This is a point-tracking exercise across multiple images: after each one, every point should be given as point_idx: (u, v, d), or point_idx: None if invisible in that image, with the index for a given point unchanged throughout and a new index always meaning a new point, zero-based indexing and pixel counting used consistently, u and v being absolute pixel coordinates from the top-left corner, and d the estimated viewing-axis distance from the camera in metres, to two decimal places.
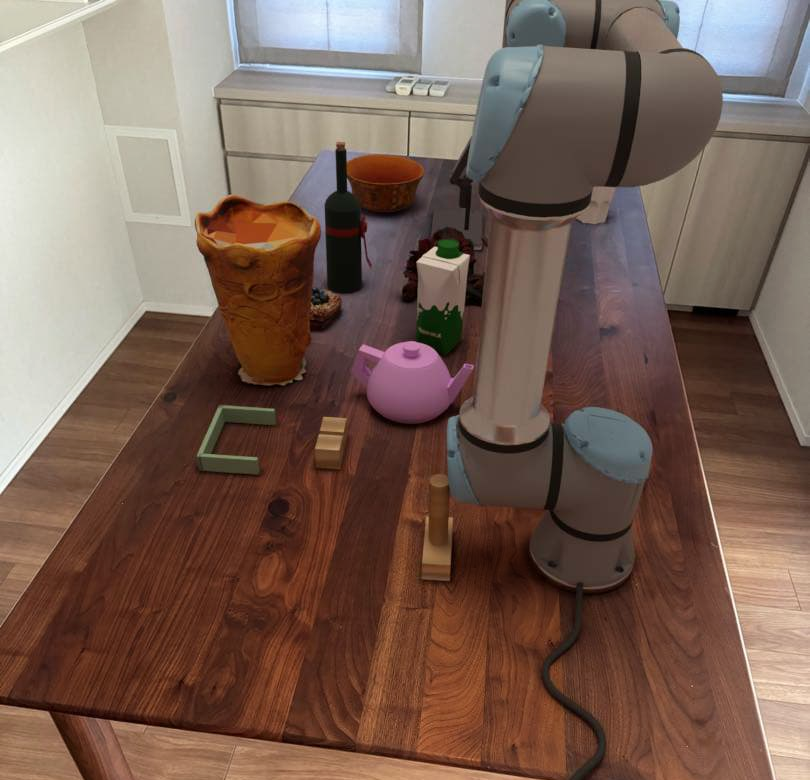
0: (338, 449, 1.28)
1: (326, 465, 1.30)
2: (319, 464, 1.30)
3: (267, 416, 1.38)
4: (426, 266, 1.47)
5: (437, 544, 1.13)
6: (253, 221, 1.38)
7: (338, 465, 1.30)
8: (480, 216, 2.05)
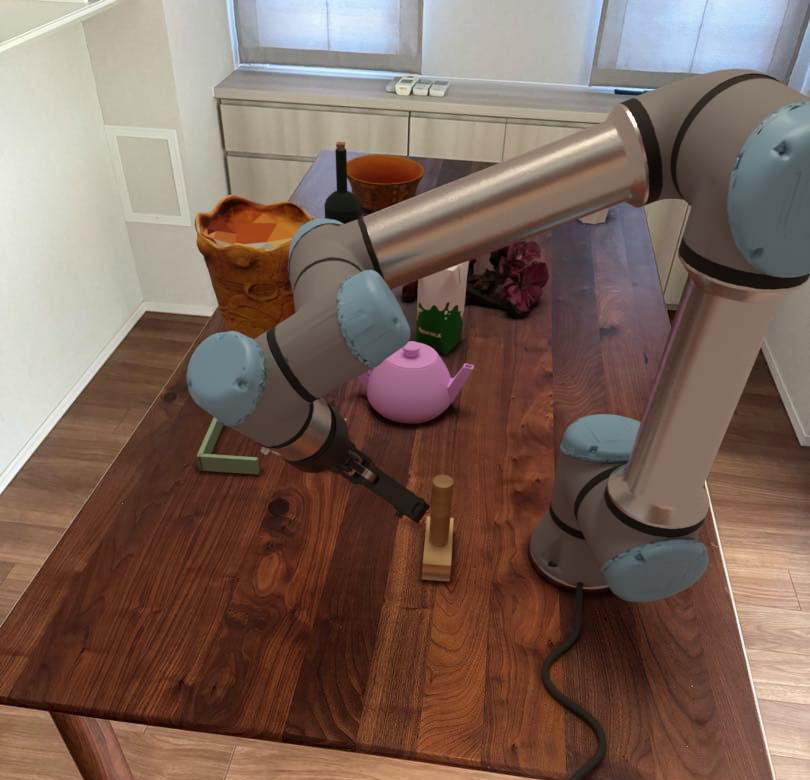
0: None
1: None
2: None
3: None
4: None
5: (438, 544, 1.13)
6: (253, 221, 1.38)
7: None
8: None
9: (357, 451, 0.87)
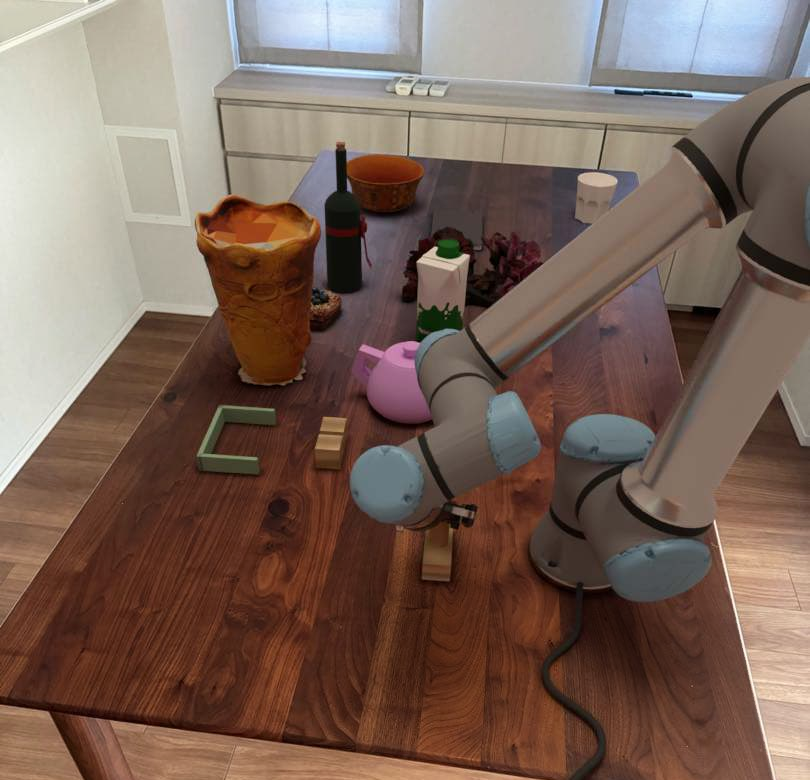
0: (338, 449, 1.28)
1: (326, 465, 1.30)
2: (319, 464, 1.30)
3: (267, 416, 1.38)
4: (426, 266, 1.47)
5: (438, 544, 1.13)
6: (253, 221, 1.38)
7: (338, 465, 1.30)
8: (480, 216, 2.05)
9: None
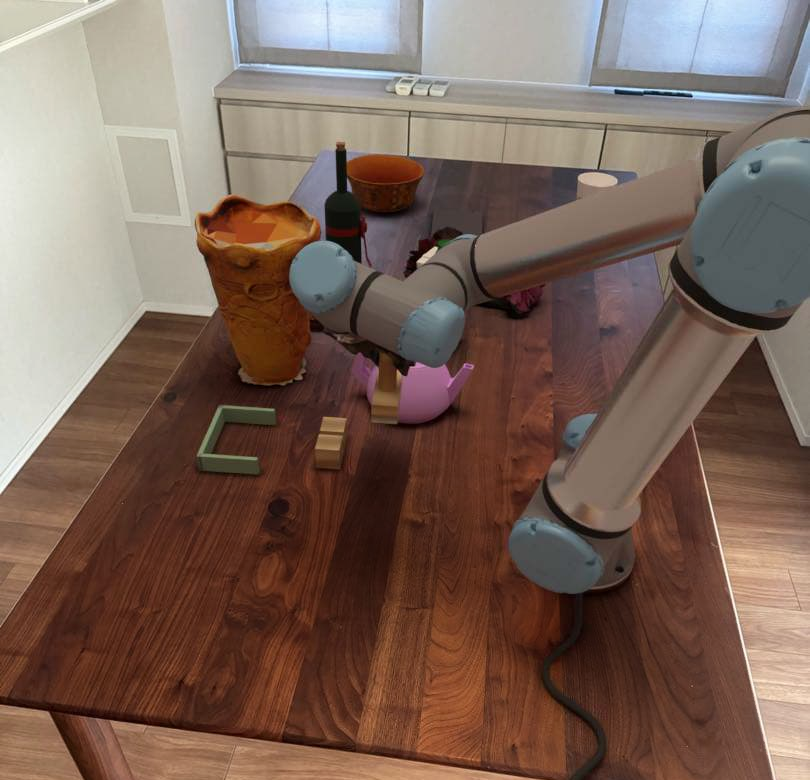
0: (338, 449, 1.28)
1: (326, 465, 1.30)
2: (319, 464, 1.30)
3: (267, 416, 1.38)
4: None
5: (386, 390, 1.21)
6: (253, 221, 1.38)
7: (338, 465, 1.30)
8: (480, 216, 2.05)
9: None
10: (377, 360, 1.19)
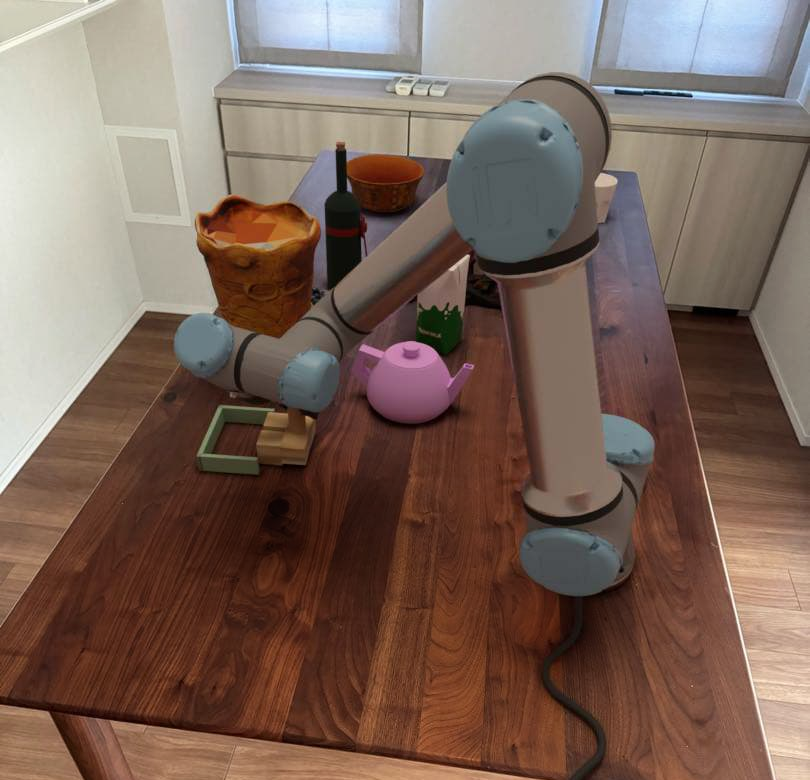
0: (279, 445, 1.28)
1: (269, 461, 1.31)
2: (261, 460, 1.31)
3: None
4: None
5: (296, 433, 1.30)
6: (253, 221, 1.38)
7: (280, 461, 1.30)
8: None
9: None
10: (285, 406, 1.28)
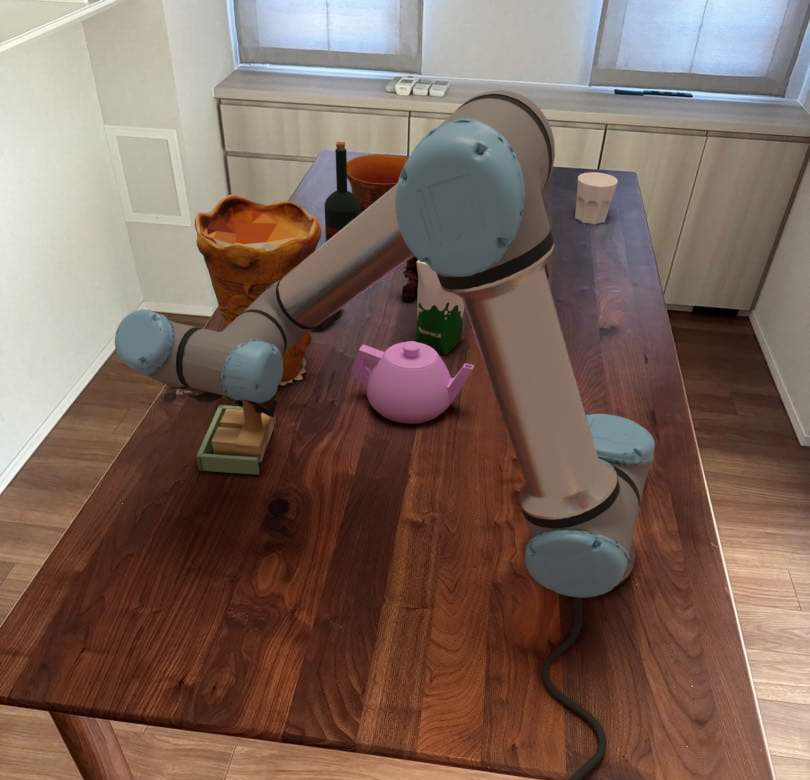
0: (234, 442, 1.29)
1: None
2: None
3: None
4: (426, 266, 1.47)
5: (251, 430, 1.30)
6: (253, 221, 1.38)
7: None
8: None
9: None
10: (240, 404, 1.28)
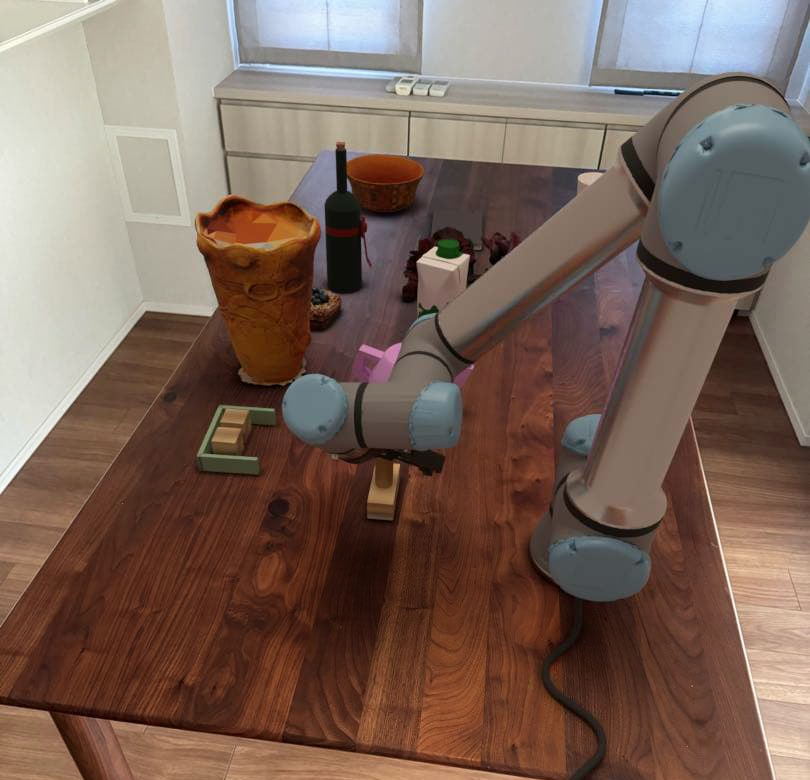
0: (234, 442, 1.29)
1: None
2: None
3: (267, 416, 1.38)
4: (426, 266, 1.47)
5: (382, 486, 1.22)
6: (253, 221, 1.38)
7: None
8: (480, 216, 2.05)
9: None
10: None
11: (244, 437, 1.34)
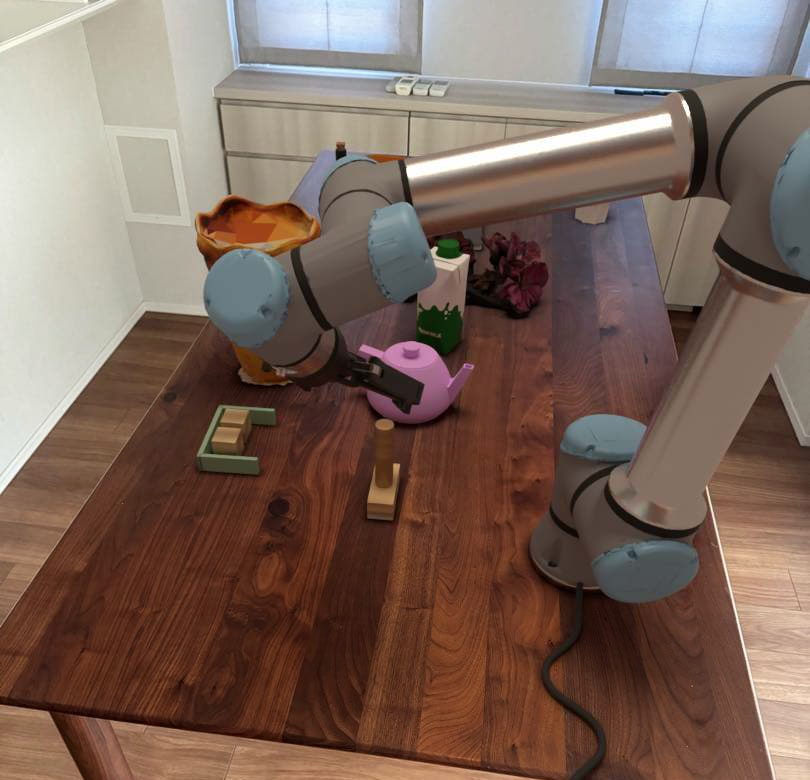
0: (234, 442, 1.29)
1: None
2: None
3: (267, 416, 1.38)
4: None
5: (382, 486, 1.22)
6: (253, 221, 1.38)
7: None
8: None
9: (350, 354, 0.87)
10: None
11: (244, 437, 1.34)
